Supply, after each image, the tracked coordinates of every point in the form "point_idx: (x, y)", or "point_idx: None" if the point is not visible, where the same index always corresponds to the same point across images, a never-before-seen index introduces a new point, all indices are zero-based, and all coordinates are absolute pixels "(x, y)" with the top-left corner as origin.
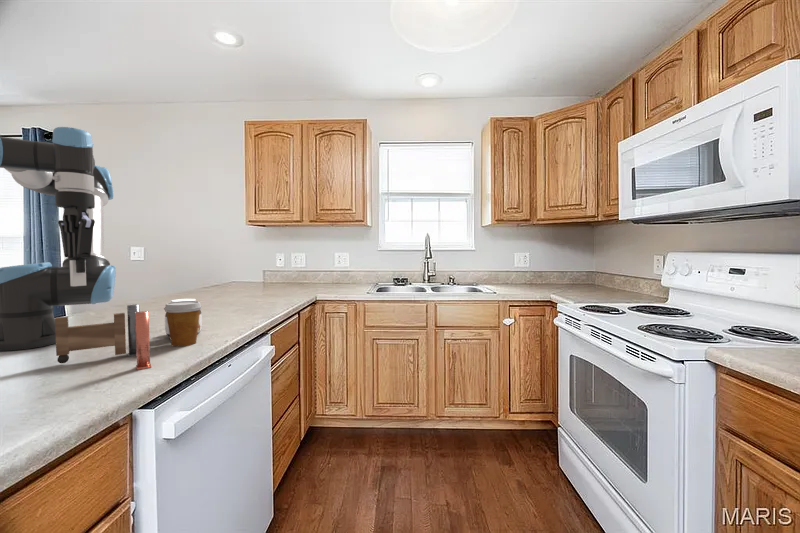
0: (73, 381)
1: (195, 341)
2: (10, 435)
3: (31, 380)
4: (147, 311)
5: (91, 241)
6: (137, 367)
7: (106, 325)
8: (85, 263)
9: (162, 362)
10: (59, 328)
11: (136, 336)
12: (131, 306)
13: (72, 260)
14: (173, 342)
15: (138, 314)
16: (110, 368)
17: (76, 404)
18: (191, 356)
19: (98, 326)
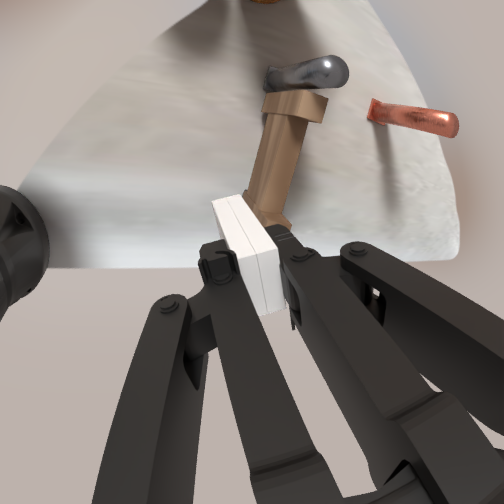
0: (364, 201)
1: None
2: (444, 258)
3: (311, 241)
4: (452, 115)
5: (457, 294)
6: (382, 123)
7: (302, 137)
8: (270, 238)
9: (374, 80)
10: None
11: (416, 129)
12: (345, 82)
13: (285, 308)
14: (272, 1)
15: (453, 135)
16: (342, 146)
17: (433, 215)
18: (375, 34)
19: (298, 154)
